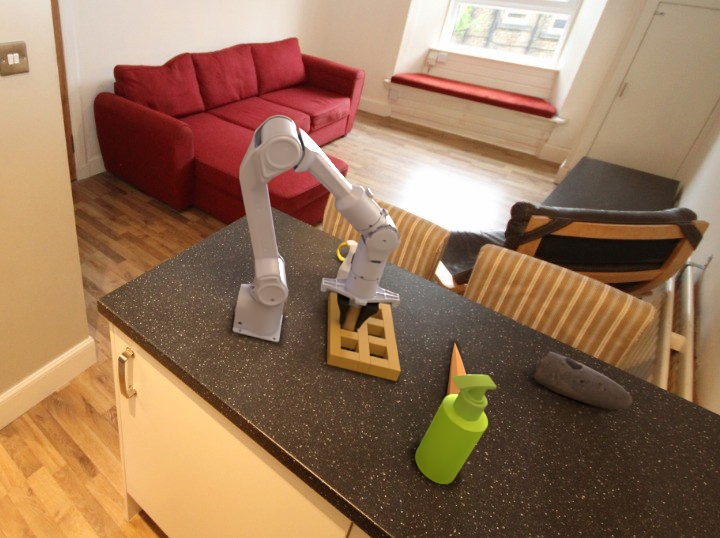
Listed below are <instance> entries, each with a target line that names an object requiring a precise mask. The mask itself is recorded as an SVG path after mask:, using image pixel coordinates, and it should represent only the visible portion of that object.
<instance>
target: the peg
mask: <svg viewBox="0 0 720 538" xmlns="http://www.w3.org/2000/svg"><path fill="white" fill-rule="evenodd" d="M361 308H362V305H359V304H356V303H355V300H353V299H351V300H350V307H349V309H348V311H347V313H346V316H345V321H344V324H343V325H341V327H340V329H343V330H348V331H352V332H354V329H355V326H356V323H357V320H358V317H359V314H360V311H361Z"/></svg>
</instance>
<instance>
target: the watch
mask: <svg viewBox="0 0 720 538" xmlns="http://www.w3.org/2000/svg"><path fill="white" fill-rule="evenodd" d="M356 243H358V242H357V241H356V240H352V239H348V240H347V241H343V242H341V243H340V244H339V245H338V247H337V248H336V252H335V254H336V257H337V258H338V260H339V261H341V262H343V261H344V260H345V258H346V257H344V256H342V255H341V253H340V248H341V247H343V246H346V247H347V248H350V246H351V245H353V244H356Z"/></svg>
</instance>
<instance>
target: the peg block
mask: <svg viewBox="0 0 720 538" xmlns="http://www.w3.org/2000/svg"><path fill="white" fill-rule="evenodd" d="M350 300H351V298H350ZM339 317H340V310H339V306H338V303H337V293H335V292H332V291H330V293H329V297H328V300H327V341H326V342H327V344H326V345H327V347H326V348H327V349H326V364H327V365H330V366H334V367H337V368H340V369H341V368H342V369H346V370H348V371H349V370H350V371H353V372H358V373H362V374H365V375H369V376H373V377H377V378H381V379H386V380H390V381H393V382H397V381H398V378H399V376H400V374H401V364H400V359H399V353H398V345H397V340H396V334H395V327H394V322H393V321H394V320H393V314H392V307H391V304H387V303H382V302H379V310H378V312H377V313H376V314H374V315H372V316H371V317H369V318H368V319H367V320H366V321H365V322H364V323H363V324H362V325H361V327H360V328H359V329H357V328H356V326H355V329H354V332H352V331H348V330H343V329H341V325H340V324H339ZM341 347H342V348H341ZM343 348H347V349H350V350H347V349H343ZM351 350H354V351H351ZM370 354H371V355H370ZM372 355H375V356H372ZM376 356H378V357H376ZM380 357H382V358H380Z"/></svg>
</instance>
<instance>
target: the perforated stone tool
mask: <svg viewBox="0 0 720 538" xmlns="http://www.w3.org/2000/svg"><path fill="white" fill-rule="evenodd" d="M535 370H536V371H535V373H534V381H535V382H536V383H537V384H539V385H540V386H543V387H544V388H546V389H548V390H549V391H552V392H554V393H556V394H559V395H561V396H564V397H566V398H569V399H572V400H575V401H578V402H581V403H583V404H586V405H590V406H593V407H597V408H601V409H606V410H615V411H616V410H617V411H618V410H625V409H628V408H629V407H631V406H632V405H633V400H634V399H633V398H632V396H631V394H630V393H629V392H628V391H627V390H626V389H625V388H624V387H623V386H622V385H620V384H619V383H618V382H616V381H615V380H613V379H611V378H609V377H608V376H606V375H604V374H603V373H601V372H599V371H597V370H595V369H593V368H591V367H589V366H587V365H585V364H583V363H582V362H578V361H576V360H575V359H573V358H570V357H567V356H564V355H561V354H558V353H555V352H553V351H549V352H547V354H546V355H545V358H544V359H540V361H539V364H538V367H535Z"/></svg>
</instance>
